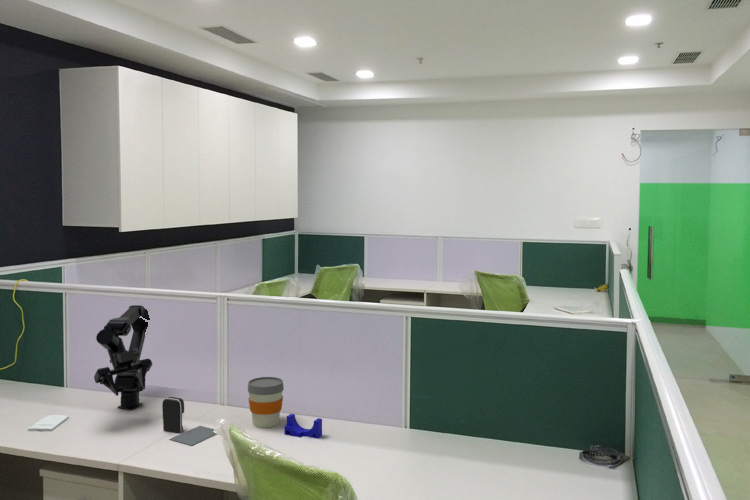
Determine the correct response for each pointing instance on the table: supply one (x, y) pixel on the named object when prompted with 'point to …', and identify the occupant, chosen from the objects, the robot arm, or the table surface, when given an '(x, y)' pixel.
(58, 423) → the external hard drive
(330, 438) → the table surface
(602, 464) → the table surface
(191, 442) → the mat
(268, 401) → the reusable coffee cup
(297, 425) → the blue cradle bracket
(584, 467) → the table surface
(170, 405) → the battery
